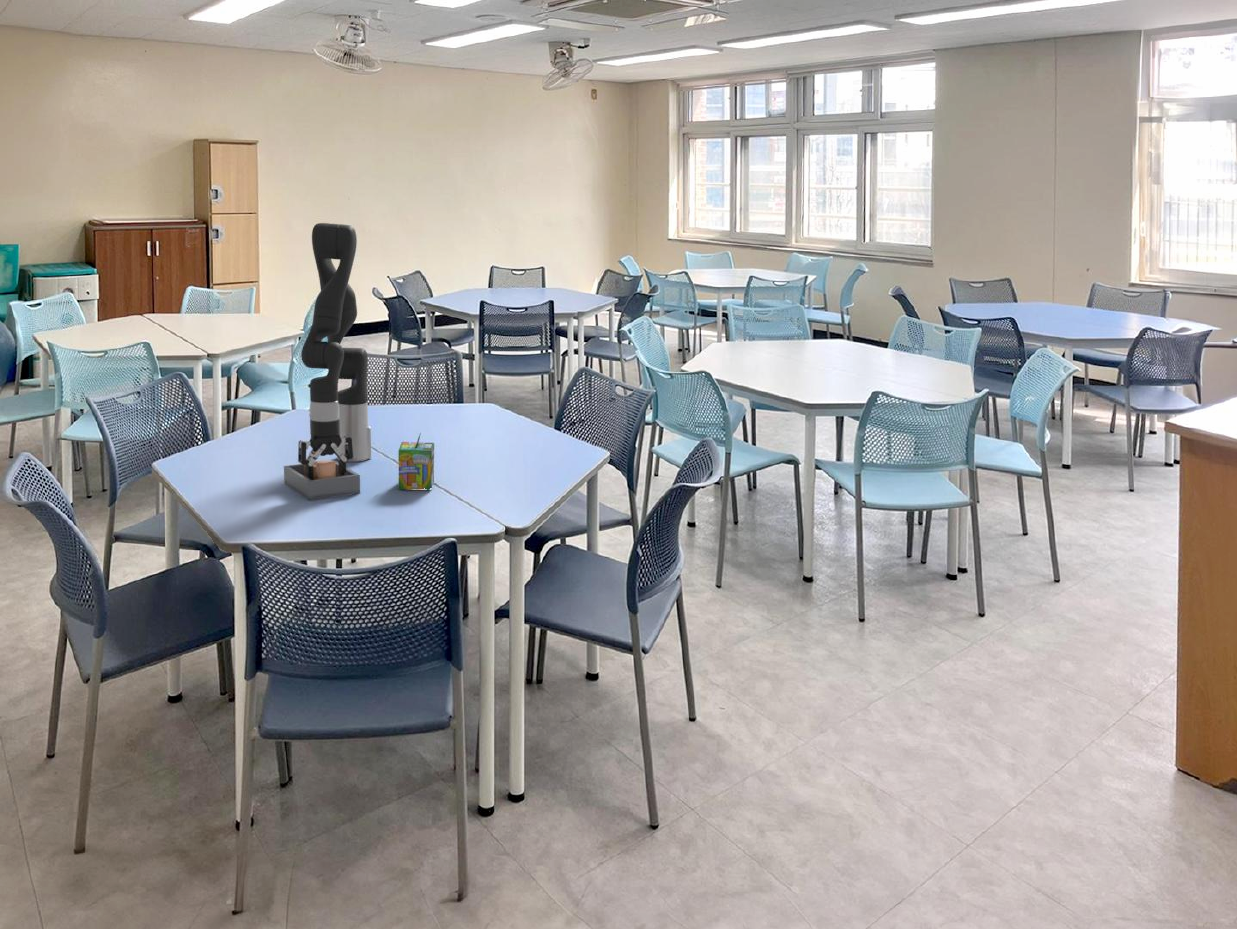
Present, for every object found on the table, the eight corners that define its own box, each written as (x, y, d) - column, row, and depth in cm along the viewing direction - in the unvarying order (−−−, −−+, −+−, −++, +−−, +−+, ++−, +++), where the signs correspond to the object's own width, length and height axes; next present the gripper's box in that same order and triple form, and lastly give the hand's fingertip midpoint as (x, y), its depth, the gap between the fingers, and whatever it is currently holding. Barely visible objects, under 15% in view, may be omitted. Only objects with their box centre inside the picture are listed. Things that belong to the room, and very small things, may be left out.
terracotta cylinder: (339, 488, 284) (338, 463, 282) (321, 491, 281) (320, 466, 279) (331, 484, 287) (331, 459, 286) (314, 486, 284) (313, 461, 283)
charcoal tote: (333, 477, 298) (333, 460, 297) (360, 493, 284) (359, 475, 283) (284, 483, 290) (283, 466, 288) (309, 500, 276) (308, 481, 275)
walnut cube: (329, 482, 289) (328, 464, 288) (311, 485, 286) (310, 467, 285) (322, 478, 293) (321, 460, 292) (304, 480, 290) (303, 463, 289)
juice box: (401, 481, 297) (400, 429, 293) (434, 482, 298) (434, 430, 294) (397, 490, 288) (396, 437, 284) (431, 491, 289) (431, 438, 285)
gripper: (303, 422, 272) (305, 483, 276) (356, 417, 280) (357, 476, 284) (292, 417, 278) (295, 477, 282) (344, 412, 286) (346, 470, 290)
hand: (326, 476), depth 283 cm, fingers open, 8 cm apart
